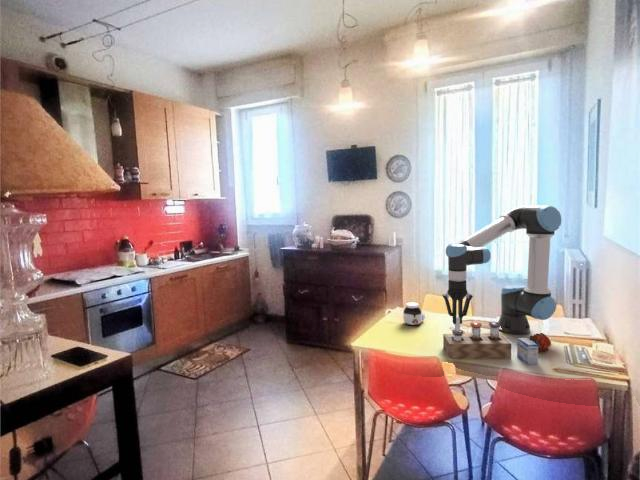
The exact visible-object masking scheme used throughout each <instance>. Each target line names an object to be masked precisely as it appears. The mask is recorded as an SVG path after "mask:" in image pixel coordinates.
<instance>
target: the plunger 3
mask: <svg viewBox="0 0 640 480" xmlns="http://www.w3.org/2000/svg"><path fill="white" fill-rule="evenodd" d="M488 326H489V333H490V340H491V341H495V340H499V333H500V330H499V327H500V323H499V322H498V321H489V322H488Z"/></svg>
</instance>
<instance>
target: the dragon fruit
mask: <svg viewBox="0 0 640 480" xmlns="http://www.w3.org/2000/svg"><path fill="white" fill-rule="evenodd" d="M528 339H529V340H531V341H533V342H534V343H536V344H538V353H539V352H542V351H543V352H548V351H549V347H551V346H552V342H551V341H552V340H550V338H549V337H548V336H547V335H546V334H545V333H542V332H540V333H538V332H537V333H534V334H533V335H530V336H529V338H528Z"/></svg>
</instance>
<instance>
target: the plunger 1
mask: <svg viewBox="0 0 640 480" xmlns="http://www.w3.org/2000/svg"><path fill="white" fill-rule="evenodd" d="M451 331H452V332H451V334H453V339H454V341H462V334H464V330H462V329H460V332H456V330H455V328H454V329H452V330H451Z"/></svg>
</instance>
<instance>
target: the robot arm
mask: <svg viewBox="0 0 640 480" xmlns="http://www.w3.org/2000/svg"><path fill="white" fill-rule="evenodd" d="M561 225H562V215H561V213H560V211H559V210H558V208H556V207H555V206H552V205H547V204H546V205H545V204H544V205H542V204H541V205H537V204H534V205H533V204H532V205H531V204H526V205H525V204H524V205H520V206H518V207H515V208H512V209H511V210H509V211H507V212H505V213H503V214H501V215H500V216H499V219H497V220H495V221H494V222H492V223H490V224H489V225H487V226H485V227H483V228H482V229H479V230H478V231H476V232H475V233H473V234H471V235H470V236H468V237H466V238H464V239H463V240H461V241H460V242H457V243H449V244H448V245H447V246H446V248H445V255H446V256H447V257H448V259H447V260H448V264H447V265H448V277H447V278H448V289H447V292H446V293H445V294H444V293H443V294H442V295H441V297H443V299H444V301H445V302H444V303H445V306H446V310H447V313H448V315H449V316H450V317H452V324H453V325H454V329H455V330H456V332H460V330H461V324H463V317H466V316H467V315H468V311H469V308H470V303H471V300H472V299H473V296H474V295H472V293H469V292H468V289H467V266H474V265H483V264H487V263H489V262H490V260H491V251H490V249H489V248H488V247H486V245H488V244H490V243H491V242H494V241H495V240H497V239H498V238H500V237H502V236H503V235H505V234H507V233H512V232H515V231H516V230H523V229H525V230H526V231H525V234H526V235H527V236H528V237H529V241H528V242H529V243H528V262H527V263H528V265H527V278H526V279H527V280H526V281H527V285H522V284H521V285H519V284H518V285H517V284H516V285H505V286H503V287H502V288H501V294H500V297H501V298H500V299H501V301H500V304H501V307H500V308H501V310H500V311H501V314H500V316H499V319H498V321H497V322H499V323H500V326H501V328H502V330H503V331H502V332H503V333H506V334H511V335H526V333H527V332H529V331H530V332H531V325H530V323H529V322H530V321H529V320H528V317H531V318H533V319H534V320H535V319H536V320H540V321H546V320H549V319H550V318H551V317H552V316H553V315H554V314H555V312H556V310H557V301H556V300H555V298H553V297H552V291H551V290H550V289H549V287H548V285H549V269H550V253H551V251H550V250H551V238H552V237H553V236H555V231H558V230H559V229H560V227H561ZM449 297H450V298H449ZM464 298H465V301H463V300H464ZM449 299H451V302H452V304H451V305H450V300H449ZM457 302H458V303H457ZM463 304H464V305H463ZM451 306H452V308H451ZM457 307H458V308H457ZM527 316H528V317H527ZM530 332H529V333H530ZM527 334H528V333H527Z"/></svg>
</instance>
